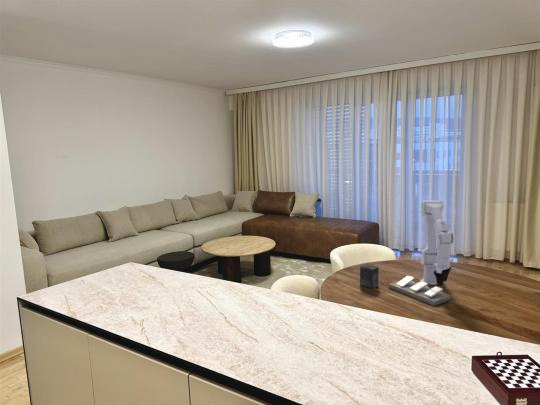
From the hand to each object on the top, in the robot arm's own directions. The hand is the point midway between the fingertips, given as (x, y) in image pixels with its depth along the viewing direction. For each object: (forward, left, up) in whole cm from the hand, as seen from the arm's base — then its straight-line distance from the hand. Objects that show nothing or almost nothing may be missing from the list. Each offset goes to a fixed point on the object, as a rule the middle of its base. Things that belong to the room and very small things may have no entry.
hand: (441, 283), depth 174 cm
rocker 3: (+6, 0, -3) cm, 7 cm away
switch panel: (+6, -8, -6) cm, 12 cm away
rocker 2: (+6, -8, -3) cm, 11 cm away
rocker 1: (+6, -16, -3) cm, 18 cm away
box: (+19, -29, -7) cm, 35 cm away
